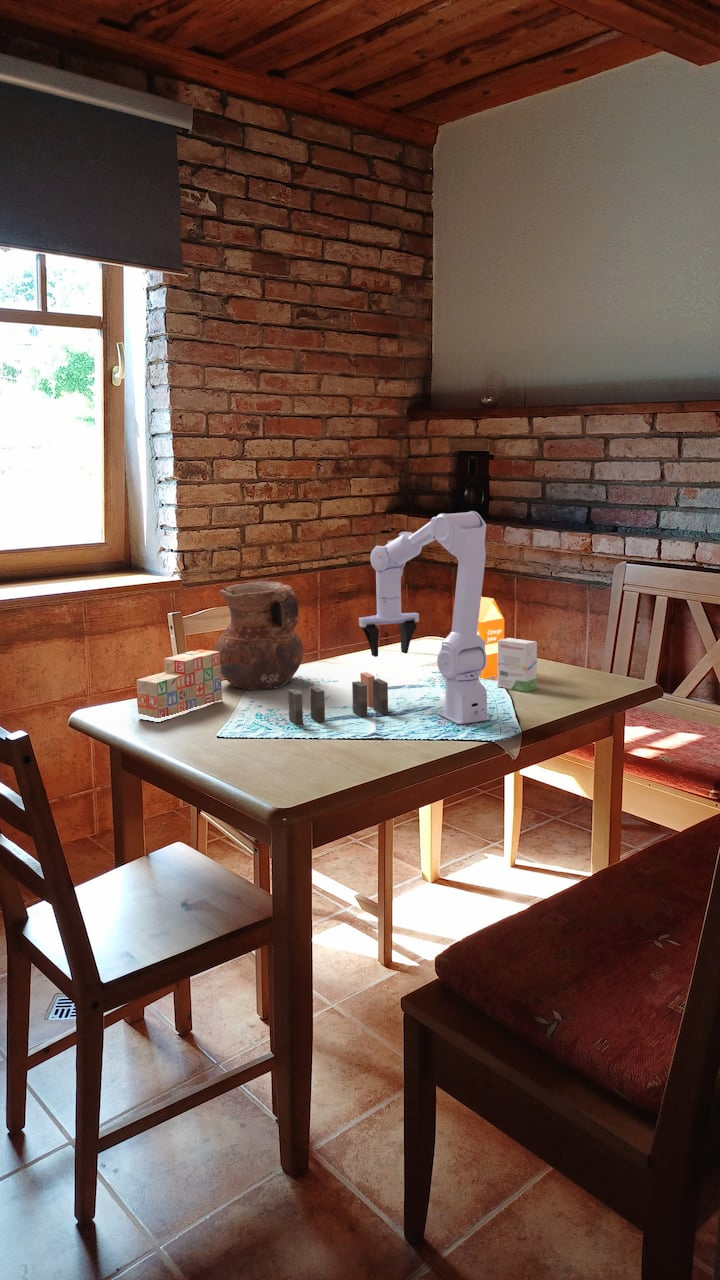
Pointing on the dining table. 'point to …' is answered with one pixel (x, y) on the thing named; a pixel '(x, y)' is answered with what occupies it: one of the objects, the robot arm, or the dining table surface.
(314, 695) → the tile
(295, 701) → the tile
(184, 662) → the stack of blocks
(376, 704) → the tile
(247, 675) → the jug
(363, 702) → the tile
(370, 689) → the tile
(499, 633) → the orange juice
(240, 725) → the dining table surface
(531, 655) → the ink box
